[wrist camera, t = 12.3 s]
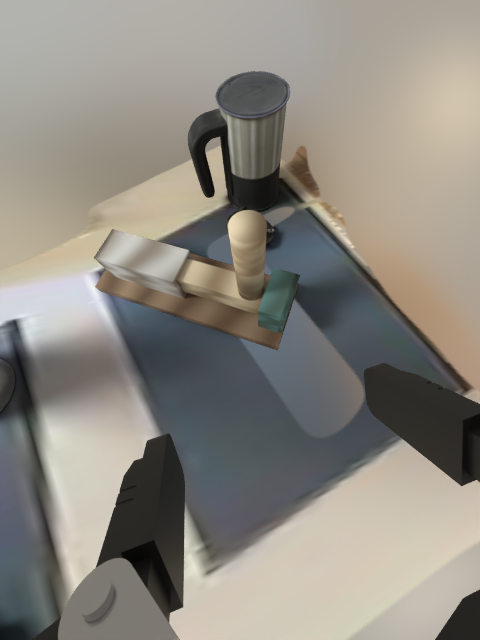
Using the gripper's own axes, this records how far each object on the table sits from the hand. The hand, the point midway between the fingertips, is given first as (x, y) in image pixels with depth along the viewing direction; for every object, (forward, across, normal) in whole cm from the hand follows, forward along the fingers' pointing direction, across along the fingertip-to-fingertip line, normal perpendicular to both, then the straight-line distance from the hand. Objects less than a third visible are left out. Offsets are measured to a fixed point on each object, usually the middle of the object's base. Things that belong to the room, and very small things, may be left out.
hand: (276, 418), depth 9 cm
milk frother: (+36, -12, -13) cm, 40 cm away
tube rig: (+30, +1, -3) cm, 30 cm away
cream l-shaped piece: (+26, -2, -2) cm, 27 cm away
